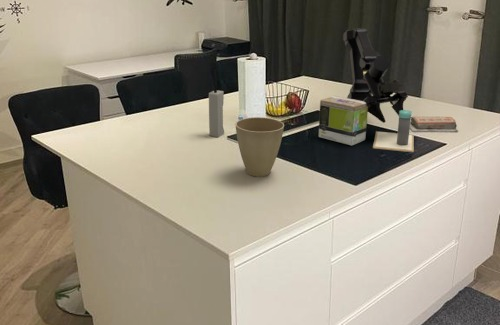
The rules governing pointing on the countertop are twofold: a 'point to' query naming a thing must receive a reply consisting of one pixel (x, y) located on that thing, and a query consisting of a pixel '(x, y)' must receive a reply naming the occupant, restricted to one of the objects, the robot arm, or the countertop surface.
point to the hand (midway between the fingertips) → (393, 120)
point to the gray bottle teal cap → (403, 127)
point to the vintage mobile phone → (216, 111)
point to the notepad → (392, 142)
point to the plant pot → (259, 143)
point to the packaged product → (432, 124)
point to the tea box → (343, 120)
